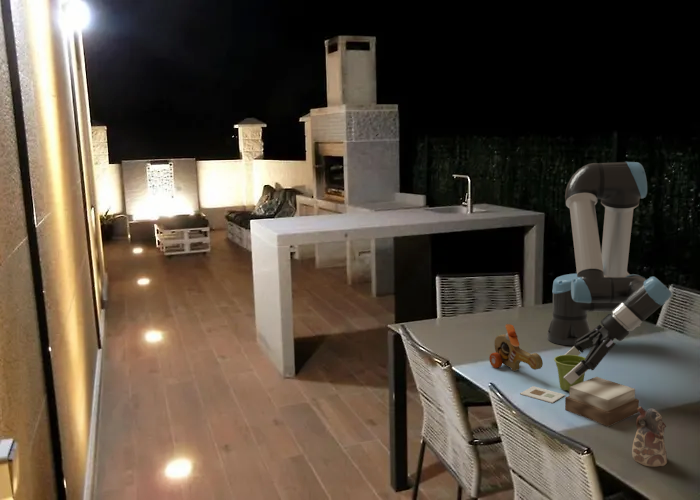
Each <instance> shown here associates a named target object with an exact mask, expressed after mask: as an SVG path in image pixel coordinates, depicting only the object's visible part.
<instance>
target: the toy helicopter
mask: <svg viewBox="0 0 700 500" xmlns="http://www.w3.org/2000/svg"><path fill="white" fill-rule="evenodd" d="M504 328H505V329H506V333H505V334H503V333H502V334H499V335H497V336H496V337H495V339H494V344H493V345H494V350H495V352H491V353H490V354H489V359H488V360H489V363H490V365H491V366H492V367H493V368H495V369H499V368H501V367H502V366H503V365H504V366H507V367H510V369H511V370H512V371H514V372H515V371H519V370H520V365H521V364H520V363H521V362H522V363H523V364H526V365H528V366H529V367H530V368H531V369H532V370H535V371H536V370H540V369H542V368H543V362H544V361H543V359H542V356H541V355H540V354H539V353H537V352H534V353H531V352H528V351H526V350H524V349H522V348H520V341H519V338H518V335H517V332H516V330H515V327H514V325H512V324H511V323H506V324H505V327H504Z"/></svg>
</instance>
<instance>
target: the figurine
mask: <svg viewBox="0 0 700 500" xmlns="http://www.w3.org/2000/svg"><path fill="white" fill-rule="evenodd" d="M638 411H639V415H638V416H637V418H636V421H635V425H636V429H637V430H636V433H635V436H634V439H633V442H632V449H631V456H632V459H633V460H634V461H635V462H636V463H637V464H640V465H642V466H644V467H650V468H651V467H655V468H656V467H664V466H665V465H666V464H667V463H668V458H667V455H668V454H667V450H666V444H665V443H666V442H665V437H664V434H665V430H666V428H667V425H666V423H664V421H663V417H662V415H661V414H660V412H659V411H657V410H656V408H655V409H654V408H651V407H650V408H648V409H647V411H646V410H645V409H644V407H642V406H639V407H638ZM641 421H643V422H644V424H642V423H640V422H641Z"/></svg>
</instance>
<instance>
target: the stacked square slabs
mask: <svg viewBox="0 0 700 500" xmlns="http://www.w3.org/2000/svg"><path fill="white" fill-rule="evenodd" d="M564 397H565V398H564V403H565V405H564V406H565V410H564V411H568V412H570V413H572V414H575V415H577V416H580V417H583V418H585V419H589V420H591V421H593V422H596V423H599V424H600V425H604V426H606V427H610V426H612V425H614V424H617V423H618V422H622V421H624V420H625V419H628V418H630V417H632V416H634V415H636V414H638V413H639V411H638V407H640V399H638V398H636V388H633V387H631V386H627V385H624V384H620V383H618V382H614V381H612V380H608V379H605V378H602V377H599V376H594V377H592V378H589V379H587V380H584V381H583V382H581V383H579V384H576V385H573V386H571V387H570V392H569V395H568V396H564ZM639 414H640V413H639Z"/></svg>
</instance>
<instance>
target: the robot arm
mask: <svg viewBox="0 0 700 500" xmlns="http://www.w3.org/2000/svg"><path fill="white" fill-rule="evenodd" d="M647 194H648V181H647V175H646V172H645V169H644V166H643V164H641V163H640V162H637V161H636V162H635V161H618V162H599V163H597V162H593V163H588V164H585V165H583V166H582V167H580V168H578V169H577V170H576V171H575V173H573V174H572V176H571V177H570V179H569V181H568V182H567V185H566V189H565V195H564V200H565V206H566V207H567V208H568V209H569V213H570V222H571V224H570V225H571V231H572V241H573V248H574V249H573V251H574V259H575V267H576V269H575V270H576V273H569V274H562V275H560V276H557V277H556V278H555V279H554V280H553V283H552V318H551V322H550V324H549V328H548V330H547V340H548V341H549V342H551V343H553V344H557V345H563V346H572V347H571V348H570V349H569V350H567V352H565V353H564V355H577V356H581V354H583V353H584V351H585V350H587V349H589V348H591V349H590V351H589V352H588V354H587V356H586V357H584V358H585V360H581V362H580V363H579V364H578V365H577V366H575V367H574V368H573V369H572V370H571V371H570V372H569V373H568V374H566V375H565V376H564V378H565V379H566V380H567V381H568V382H569V383H570V384H572V383H574V382H575V381H576V380H577V379H578V378H579V377H580V376H582V375H583V374H584V373H586V372H587V371H589V370H591V371H594V370H595V369H596V368H597V367H598V366H599V364H600V362H602V360H603V359H604V358H605V357H606V355H607V354H608V353H609V352H610V350H611V349H612V348H614V347H615V345H616V343H615V342H614V341H613V340H614V339H616V340H617V341H618V342H621V341H623V340H624V339H625V338H627V336H629V335H630V331H631V332H632V331H634V330H635V329H636V328H637V327H641V324H642V323H643V322H644V321H645V320H646V319H648V318H649V317H651V315H653V314H654V313H655V312H656V311H657V310H658V309H659V308H661V307H662V306H663V305H665V303H666V302H668V300H669V299H670V298H671V297H672V295H673V294H672V291H671V290H670V289H669V288H668V286H666V285H665V284H664V283H663V282H662V281H661V280H659V279H658V278H657V277H656V276H649V278H645V277H644V276H641V275H639V274H634V273H632V274H630V273H629V271H628V264H629V255H630V254H629V253H630V243H631V235H632V234H631V233H632V227H633V217H634V209H635V208H637V207H639V204H640V199H644V198H646V197H647ZM598 200H600V204H601V205H602V206H603V207H604V219H603V228H602V229H603V231H602V243H601V242H600V235H599V227H598V226H599V225H598V219H597V213H596V211H597V210H596V205H597V203H598ZM588 312H611V313H609V314H607V315H605V316H604V318H602V319H601V320H600V324H598V325H597V326H596V327H595V328H594V329H592V330H591V328H590V324H589V321H588Z"/></svg>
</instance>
